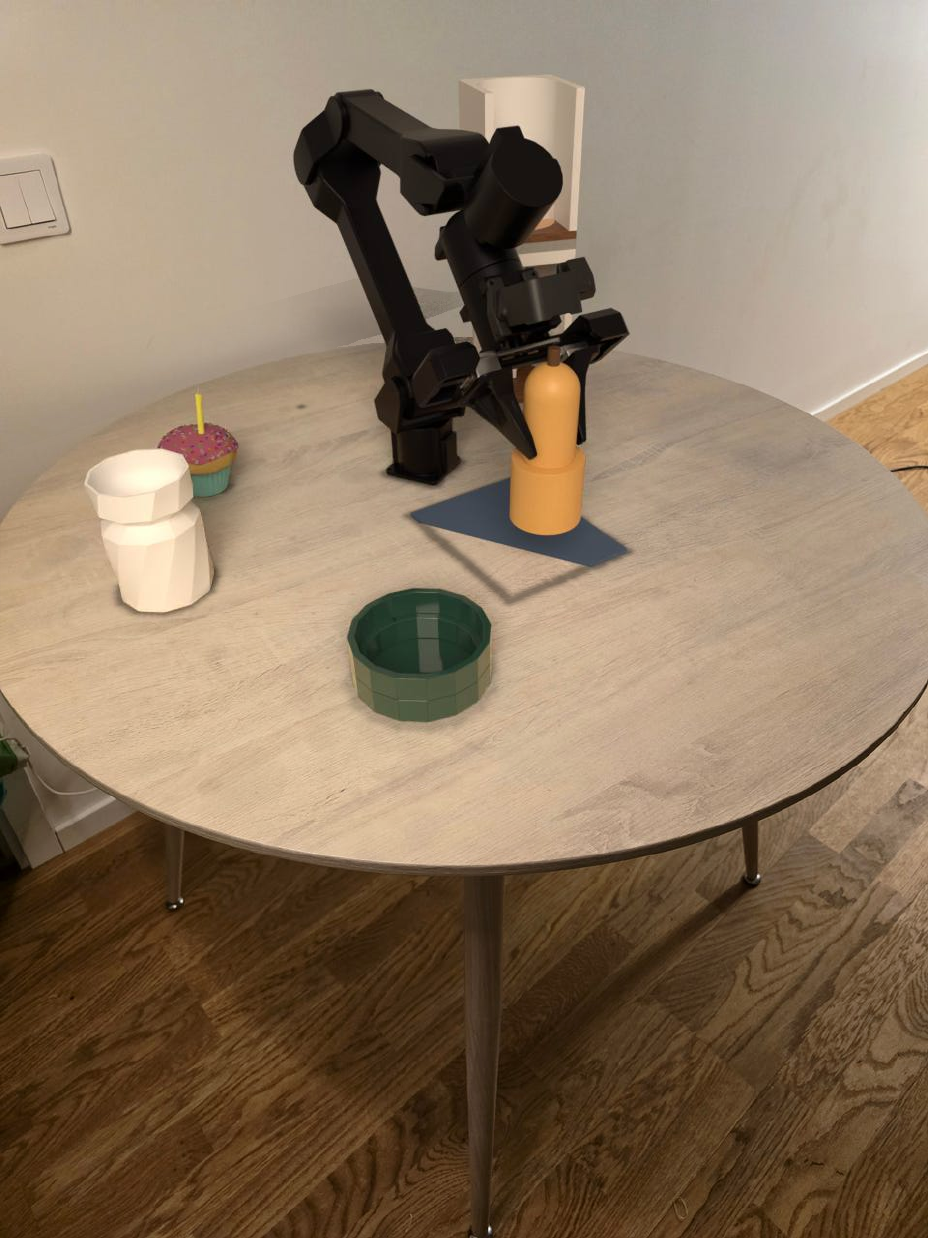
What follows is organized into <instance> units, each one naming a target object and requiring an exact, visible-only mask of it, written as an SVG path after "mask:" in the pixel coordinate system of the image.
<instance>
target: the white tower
mask: <svg viewBox="0 0 928 1238" xmlns="http://www.w3.org/2000/svg"><path fill="white" fill-rule="evenodd" d="M585 90H586V87H585V86H582V85H579V84H578V83H574V82H572V81H569V80H567V79H564V78H561V77H559V76H556V75H553V74H551V73H547V74H546V73H545V74H529V75H527V74H526V75H514V76H513V75H511V76H496V77H480V78H479V77H477V78H461V79H459V78H458V116H459V118H458V120H459V130H466V131H472V132H477V133H480V134H482V135H483V136H484V137H485V138H486V139H487V141H488V142H489V143H490V140H491V138H492V136H493V134H494V132H495V130H496V128H501V127H509V126H517V125H518V126H520V128H521V131H522V133H523V136H524V138H526V139H529V140H532V141H534V142H536V143H538V144H539V145H541V146H542V147H544V148H545V149H546V150H547V151H548V152H549V153H550V154H551V155H552V157H553V158H555V159H557V161H558V163H559V165H560V167H561V171H562V175H563V186H562V191H561V193H560V195H559V196H558V198H557V200H556V201H555V202H554V204H553V205H552V206H551V208H550V209H549V211H548V212H547V213H546V215H545V216H544V217H543V219H542V220H541V222H540V223H539V224H538V226H537V227H536V228H535V230H534V231H533V233H532V234H531V235H530V237H529V238H528V239H527V241H525V242H524V243H523V244H522V245H520V246H518V247H516V250H517V253H518V255H519V258H520V260H521V263H522V265H523V268H524V269H529V268H534V270H535V271H536V272H537V273H538V276H539V277H544V276H549V275H553V274H556V269H557V264H559V263H562V262H566V261H567V260H570V259H575V258H576V253H577V237H578V236H577V235H578V233H577V232H578V220H579V219H578V217H579V201H580V200H579V199H580V196H579V195H580V182H581V181H580V180H581V165H582V164H581V163H582V145H583V129H584V110H585V95H586V93H585V92H586V91H585ZM560 318H561V320H562V322H561V323H560V324H559V325H558V326H557V328H555V329H551V330H550V331H549V335H550V336H553V335H557V334H562V333H563V332H564V331H565V330H566V329H567V328H568V327H569V326H570V324H571V323H572V322H573V314H572V315H571V314H570V313H567V314H563V315H560ZM472 344H473V345H474V346H476V348H477V351H478V353H479V352H480V351H481V350H482V349H481V346H480V344H479V341H478V339H477V336H476V333H475V331H474V328H473V327H472ZM536 352H538V350H537V351H535V352H533V353H536ZM529 354H532V353H529ZM545 362H546V361H545ZM542 363H544V362H541V363H537V364H533V365H529V366H525V367H521V368H517V369H513V385H514V393H515V396H516V398H517V401H518V403H519V406H520V408H521V410H522V412H523V398H524V385H525V381H526V379H527V377H528V375H529V373H530V372H531V371H532V370H533V369H534V368H535V367H536V366H538V365H540V364H542Z"/></svg>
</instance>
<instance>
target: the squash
mask: <svg viewBox="0 0 928 1238" xmlns="http://www.w3.org/2000/svg"><path fill="white" fill-rule="evenodd" d="M560 352H561V348H560V347H559V346H549V347H548V358H547V362H544V363H542V364H540V365H538V366H536V367H535V368H534V369H533V370H532V371H531V372H530V373H529V375H528V377H527V379H526V381H525V385H524V398H523V411H522V413H523V415H524V418H525V420H526V422H527V425H528V427H529V430H530V432H531V434H532V437H533V440H534V443H535V447H536V450H537V456H536V457H535V458H534V459H532V460H528V459H527V458H526V457H525V456H524V455H523V454H522V453H521V452H520V451H519V450H518V449H517V448H516V447H515V448H514V449H513V450H512V451H511V453H510V478H511V479H510V519H511V521H512V522H513V524H514V525H515V526H517V527H518V528H520V529H521V530H524V531H526V532H529V533H533V534H538V535H556V534H561V533H565V532H567V531H570V530H571V529H573V528H574V527H576V526H577V525H578V523H579V521H580V518H581V516H582V508H583V507H582V506H583V493H584V484H585V483H584V482H585V471H586V460H587V458H586V457H587V456H586V454H585V452H584V451H583V450H582V449H581V447H579V446H578V445H577V444H576V441H577V428H578V416H579V403H580V382H579V379H578V377H577V375H576V373H575V372H574V371H573V370H572V369H571V368H570V367H569V366H568V365H566V364H564V363H561V362H560Z"/></svg>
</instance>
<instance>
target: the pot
mask: <svg viewBox="0 0 928 1238" xmlns="http://www.w3.org/2000/svg"><path fill="white" fill-rule="evenodd" d="M492 626H493V625H492V623H491V621H490V619H489V617H488V616H487V614H486V612H485V611H484V609H483V607H482V606H480V605H479V604H477V603H476V602H474V600H472V599H470V598H469V597H467V596H466V595H464V594H460V593H458V592H453V591H450V590H446V589H443V588H436V587H435V588H432V587H412V588H406V589H401V590H398V591H392V592H388V593H386V594H384V595H382V596H380V597H378V598H376V599H374V600H371V601H370V602H368V603H366V604H365V605H364V606H363V607H362V608H361V609H360V610H359V612H358V613H356V615H355V616H353V617H352V619H351V621H350V625H349V628H348V632H347V635H346V642H347V650H348V658H349V664H350V665H349V666H350V671H351V680H352V682H353V687H354V689H355V692H356V694H357V697H358V698H359V700H361V701H362V702H363V703H364V704H365V705H366V706H367V707H369V708H370V709H371V710H372V711H373V712H374V713H375V714H379V715H381V716H385V717H386V718H390V719H393V720H396V721H397V722H410V723H411V722H413V723H431V722H434V721H435V722H436V721H438V720H443V719H447V718H451V717H452V718H453V717H455V716H457V715H460V714H461V713H463V712H464V711H466V710H467V709H468V708H471V707H472V706H474V705H476V704H477V703H478V702H479V701H480V699H481V698H482V697H483V695H484V694H485V692H487V689H488V688H489V687H490V685H491V679H492V668H493V667H492V665H493V663H492V661H493V660H492V658H493V657H492V656H493V655H492V650H493V649H492V648H493V647H492V643H493V642H492V635H493V634H492V633H493V632H492V630H493V629H492V628H493V627H492Z"/></svg>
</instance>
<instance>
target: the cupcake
mask: <svg viewBox="0 0 928 1238" xmlns="http://www.w3.org/2000/svg"><path fill="white" fill-rule="evenodd" d="M200 389H201V387H200V386H198V387H197V392H196V393H195V394H194V398H195V411H196V423H189V424H188V425H187V424H182V425H179V426H177V427H174V428H173V429H170V431H169V432H167V433H166V434H165V435H163V436H162V437H161V440H160V441H159V442H158V443H157V446H156V447H157V448H156V449H165V450H169V451H172V452H175V453H179V454H182V455H183V456H184V458H185V460H186V462H187V464H188V465H189V469H190V476H191V480H192V483H193V497H194V498H195V497H196V498H208V497H212V496H213V497H214V496H217V495H219V494H221V493H222V492H224V491H226V489H227V488H228V487H229V484H230V483H229V482H230V475H231V468H232V464H233V462H234V461H235V460H236V459H237V456H238V449H239V442H238V440H237V439H235V437H234V436H233V434H232V433H231V432H230V431H228V429H225V428H224V427H222V426H220V425H219V424H213V423H211V422H205V419H204V418H205V417H204V408H203V407H204V406H203V405H204V404H203V396H202V395H203V394H202V393H201V391H200Z"/></svg>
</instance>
